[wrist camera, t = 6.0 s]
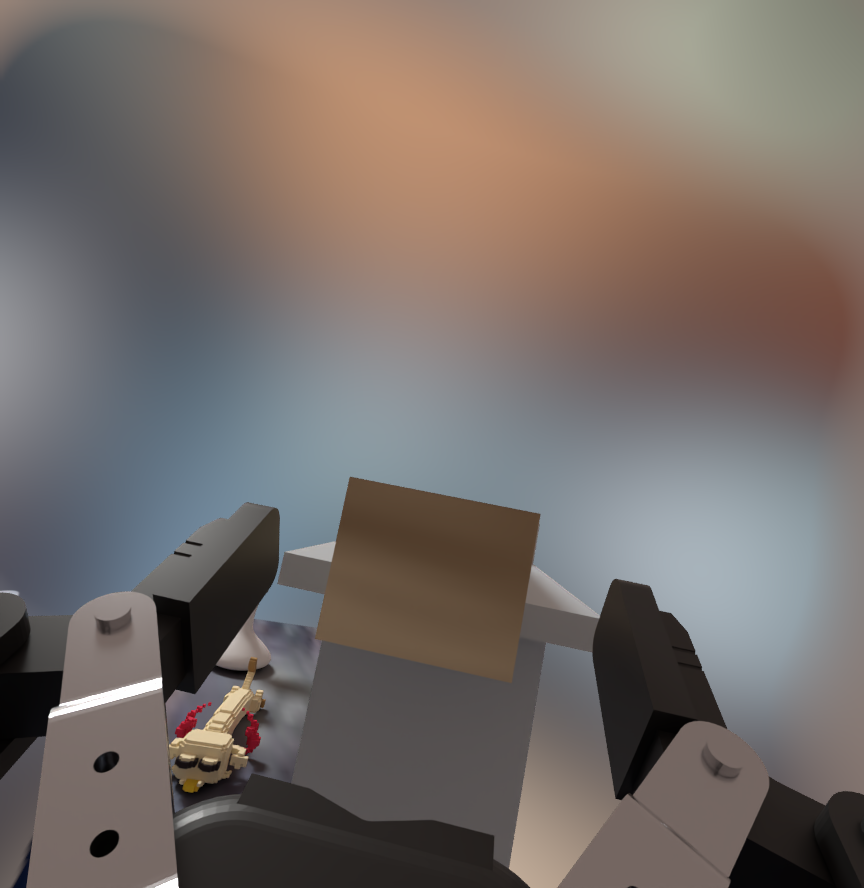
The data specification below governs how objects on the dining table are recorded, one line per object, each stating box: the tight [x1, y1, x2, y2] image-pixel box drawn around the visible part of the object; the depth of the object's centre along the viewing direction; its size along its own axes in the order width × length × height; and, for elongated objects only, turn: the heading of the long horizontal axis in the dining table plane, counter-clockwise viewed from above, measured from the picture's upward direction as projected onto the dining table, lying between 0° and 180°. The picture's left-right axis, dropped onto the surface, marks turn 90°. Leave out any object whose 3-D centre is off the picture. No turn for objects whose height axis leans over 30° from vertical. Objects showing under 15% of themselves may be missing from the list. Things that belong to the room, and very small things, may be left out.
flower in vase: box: [216, 591, 271, 671], centre depth 97 cm, size 13×11×25 cm
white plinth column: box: [278, 526, 600, 869], centre depth 28 cm, size 22×14×35 cm, turn 176°
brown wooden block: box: [315, 477, 540, 683], centre depth 22 cm, size 26×4×3 cm, turn 176°
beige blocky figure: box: [169, 657, 265, 793], centre depth 68 cm, size 10×9×25 cm
